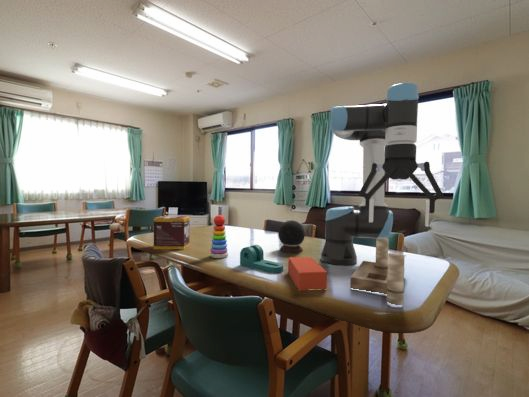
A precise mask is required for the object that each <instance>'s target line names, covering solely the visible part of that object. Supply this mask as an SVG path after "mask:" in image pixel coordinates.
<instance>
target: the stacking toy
mask: <svg viewBox="0 0 529 397" xmlns="http://www.w3.org/2000/svg"><path fill="white" fill-rule="evenodd" d="M213 223H214V225H215V226H213V231H212V234H213V235H212V240H211V243H212V244H211V248H210V257H211V258H214V259H224V258H228V256H229V253H228V248H227V247H228V243H227V242H228V241H227V236H226V231H225V230H226V226H225V225H224V224H225V223H226V218H225V216H223V215H222V214H219V215H218V214H217V215H216V216H214V218H213Z"/></svg>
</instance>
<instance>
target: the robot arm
mask: <svg viewBox="0 0 529 397" xmlns="http://www.w3.org/2000/svg"><path fill="white" fill-rule="evenodd" d="M419 98H420V96H419V87H418V84H416V83H414V82H401V83H395V84H393V85H391V86H389V87H388V88H387V90H386V97H385V100H386V101H385V102H386V103H382V104H366V105H341V106H333V107H331V109H330V116H329V117H330V119H329V120H330V124H329V126H330V127H329V128H330V131H331V132H332V133H333V135H334V136H336V137H337V138H340V139H342V140H346V141H359V146H360V147H362V150H363V151H362V152H363V155H362V161H363V162H362V187H361V189H360V190H359V192H358V196H360V197H362V202H361V203H360V204H359V205H358V209H355V207H354V206H338V207H332V208H328V209H327V210H326V213H325V218H324V219H325V220H324V221H325V235H324V236H325V238H324V239H325V241H324V244H323V248H322V250H321V253H320V260H321V261H322V262H324V263H326V264H330V265H338V266H352V265H355V264H356V263H358V256H357V252H356V249H355V246H354V238H360V239H376V238H387V239H388V238H389V236H390V235H391V232H392V228H393V222H394V213H393V211H392V210H389V206H388V204H387V203H385V183H386V182H387V181H388V180H389V179H391V180H395V181H396V180H408V179H410V180H411V181H412V182H413V183H414V184H415V185H416V186H417V187H418V189H420V191H421V192H423V194H424V195H425V197H427V198H428V199H429V200H425V216H424V217H425V218H424V219H425V222H424V226H425V227H427V228H428V227H430V214H434V213H435V211H436V210H435V209H436V208H435V207H436V201H437V200H440V199H443V198H444V197H445V196H444V193H443V191H442V190H441V188H440V186H439V184H438V182H437V181H436V179H435V177H434V175H433V173H432V171H431V165H430V162H429V161H425V162H420V163H418V162H417V145H416V143H417V138H418V115H419V114H418V112H419V110H418V109H419ZM418 168H419V169H420V170H421V171H422V172H424V173H425V175H426V177H427V179H428V181H429V183H430V185H431V187H432V188H433V191H434V192H435V194H433V193H431V192H430V190H429V189H428V188H427V187H426V185H424V184H423V183H422V182H421V180H420V179H418V177H417V176H416V175H415V174H414V173H415V172H416V171H417V169H418Z"/></svg>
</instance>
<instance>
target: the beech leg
mask: <svg viewBox="0 0 529 397" xmlns="http://www.w3.org/2000/svg"><path fill="white" fill-rule="evenodd" d="M404 282H405V254H403V253H400V252H388V279H387V297H386V303H387V302H389V303H391V304H395V305H402V304H403V305H404V292H405V291H404Z"/></svg>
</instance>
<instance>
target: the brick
mask: <svg viewBox="0 0 529 397" xmlns="http://www.w3.org/2000/svg"><path fill="white" fill-rule="evenodd" d="M287 271H288V272H287V273H288V276H290V279H291V280H292V282H293V284H294V283H295V284H294V285H295V287H296V286H297V287H296V289H297V288H298V289H297V291H299V290H306V289H326V288H327V286H328V285H327V284H328V283H327V280H328V276H327V275H328V271H327V270H326V269H325V268H323V267H322V266H321V265H320V264H319V263H318V262H317V260H315V259H314V258H313V256H311V257H310V256H307V257H306V256H305V257H300V256H298V257H294V256H293V257H291V256H289V257H288V265H287ZM306 291H307V290H306Z"/></svg>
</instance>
